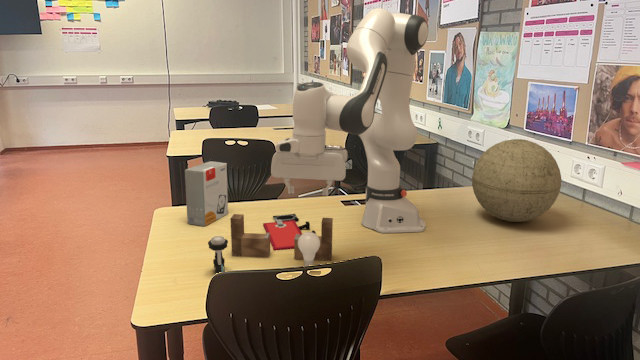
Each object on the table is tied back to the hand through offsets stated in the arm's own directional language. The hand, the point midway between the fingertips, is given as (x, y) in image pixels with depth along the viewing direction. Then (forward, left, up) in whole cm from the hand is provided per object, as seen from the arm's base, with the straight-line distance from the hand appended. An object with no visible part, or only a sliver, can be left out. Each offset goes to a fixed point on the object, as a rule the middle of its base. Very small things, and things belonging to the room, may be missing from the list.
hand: (308, 194), depth 132 cm
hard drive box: (+41, -37, -22) cm, 59 cm away
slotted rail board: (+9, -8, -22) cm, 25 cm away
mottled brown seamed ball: (-70, -49, -22) cm, 88 cm away
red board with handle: (+10, -28, -23) cm, 37 cm away
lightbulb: (0, 0, -22) cm, 22 cm away
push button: (+25, +4, -22) cm, 34 cm away
